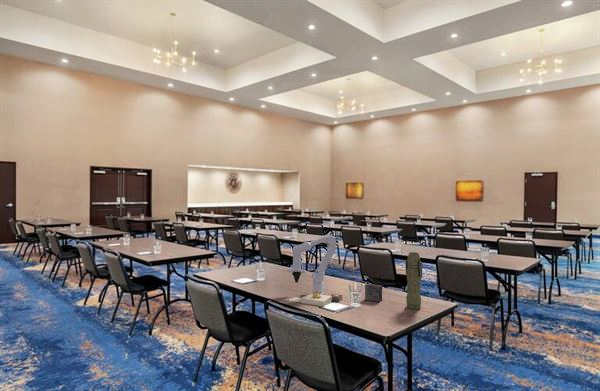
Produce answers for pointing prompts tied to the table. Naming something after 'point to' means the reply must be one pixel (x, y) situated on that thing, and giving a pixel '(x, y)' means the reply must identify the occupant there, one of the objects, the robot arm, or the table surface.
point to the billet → (316, 294)
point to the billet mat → (296, 299)
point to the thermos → (413, 280)
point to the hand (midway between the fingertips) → (296, 282)
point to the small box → (373, 292)
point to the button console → (336, 298)
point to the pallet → (317, 300)
